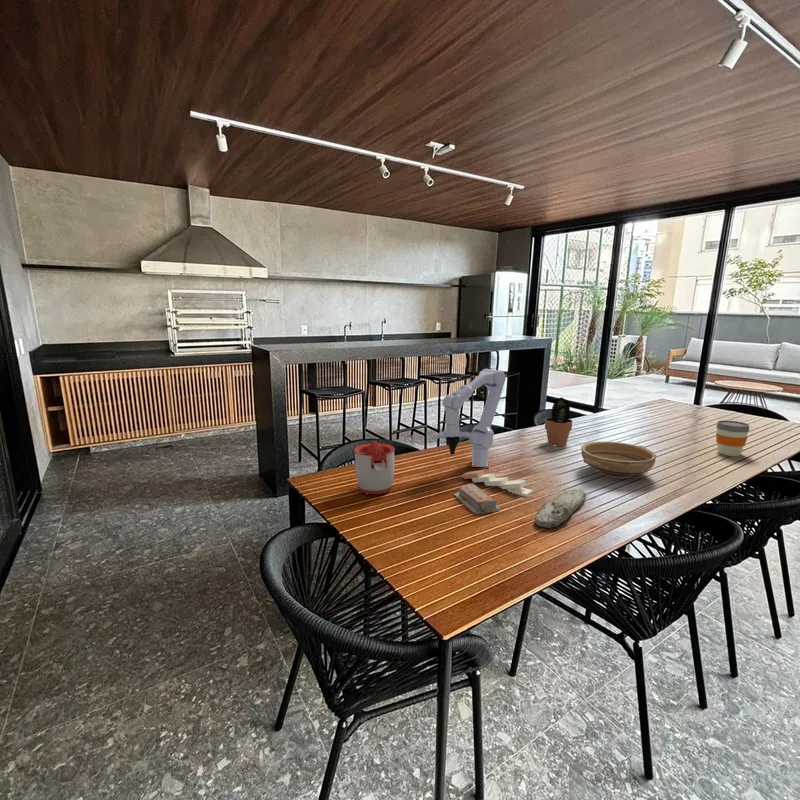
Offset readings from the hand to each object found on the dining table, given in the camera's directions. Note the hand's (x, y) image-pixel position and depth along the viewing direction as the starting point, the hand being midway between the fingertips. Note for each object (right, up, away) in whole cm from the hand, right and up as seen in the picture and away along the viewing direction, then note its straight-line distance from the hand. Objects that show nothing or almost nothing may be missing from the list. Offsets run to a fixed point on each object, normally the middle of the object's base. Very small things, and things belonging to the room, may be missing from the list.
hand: (452, 453), depth 184 cm
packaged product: (+5, -15, -27) cm, 31 cm away
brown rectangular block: (+5, -9, -3) cm, 11 cm away
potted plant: (+61, 0, +43) cm, 74 cm away
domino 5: (+21, -12, -16) cm, 29 cm away
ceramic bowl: (+70, -9, 0) cm, 70 cm away
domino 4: (+19, -10, -15) cm, 26 cm away
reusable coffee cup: (+138, -3, +25) cm, 140 cm away
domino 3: (+13, -10, -11) cm, 20 cm away
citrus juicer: (-32, -13, -16) cm, 38 cm away
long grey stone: (+34, -16, -34) cm, 51 cm away
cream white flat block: (+9, -9, -7) cm, 15 cm away
